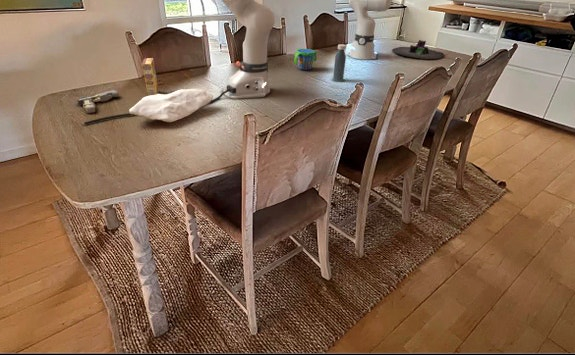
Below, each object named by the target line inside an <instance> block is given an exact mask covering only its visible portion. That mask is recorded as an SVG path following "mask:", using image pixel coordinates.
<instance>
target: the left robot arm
mask: <svg viewBox="0 0 575 355" xmlns="http://www.w3.org/2000/svg"><path fill="white" fill-rule="evenodd" d="M221 1H222V3H223V4H224V5H225V6H227V8H228V9H229V11H230V12H231V13H232V15H233V16H234V17H235V18H236V20H237V21H238V22H239V23H240V24H241V25H242V26H244V27H245V28H246V32H245V37H244V41H243V42H242V59H243V60H242V61H236V62H235V65H236V66H237V67H239V69H237V71H236V72H235V73H234V74H232V75H231V76H230V77H229V78H228V81H227V85H226V87H224V88H223V91H222V92H221V93H220V94H219V96H217V97H215V98H213V99H212V100H211V101H210V102H209V103H207V104H206V105H208V104H211V103H215V102H216V101H218V100H219V99H221V98H222V97H223V96H224V95H225V96H226V97H228V98H230V99H233V100H236V99H237V100H238V99H239V100H240V99H253V98H254V99H255V98H264V97H266V95H268V94H269V93H270V92H271V88H270V84H269V78H268V76H269V75H268V72H269V61H268V43H269V37H270V33H271V30H272V29H273V28H274V25H275V19H276V18H275V15H274V13H273V11H272V10H271V9H270V8H269V7H267V6H266V5H264V4H262V3H260V2H258V1H256V0H221ZM128 116H129V117H130V116H135V115H134V114H130V112H127V113H121V114H120V113H119V114H115V115H108V116H104V117H100V118H95V119H92V120H88V121H84V125H89V124H94V123H97V122H100V121H101V122H102V121H104V120H110V119H116V118H123V117H128Z"/></svg>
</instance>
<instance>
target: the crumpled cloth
mask: <svg viewBox="0 0 575 355" xmlns="http://www.w3.org/2000/svg"><path fill="white" fill-rule="evenodd" d="M213 97H214V96H213V94H212V93H210V92H208V91H206V90H203V89H201V88H187V89H186V88H185V89H184V88H183V89H177V90H175V91H173V92H171V93H167V94H163V93H158V94H156V95H150V96H148V95H146V96H144V97H142V98H141V99H140V100H139V101H138V102H137V103H136V104H134V105H133V106H132V107H131V108H129V112H128V113H130V114H134V115H133V116H140V117H145V118H146V119H149V120H152V121H155V120H158V121H163V122H166V123H174V122H176V121H178V120H181V119H183V118H185V117H188V116H190V115H192V114H193V113H195V112H196V111H197V110H199V109H200V108H202V107H204V106H206V105H208V104H210V103H209V102H210V101H211V100H213V99H214V98H213ZM207 103H208V104H207Z"/></svg>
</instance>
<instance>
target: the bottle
mask: <svg viewBox="0 0 575 355" xmlns="http://www.w3.org/2000/svg"><path fill="white" fill-rule="evenodd" d="M346 59H347V56H346V52H345V50H340V49H338V50H337V52H336V54H335V56H334V66H333V76H332V80H333V81H334V82H337V83H339V82H344V77H345V70H346Z"/></svg>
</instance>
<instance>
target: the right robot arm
mask: <svg viewBox="0 0 575 355" xmlns="http://www.w3.org/2000/svg"><path fill="white" fill-rule="evenodd" d="M348 5H349V7H350V9H351V10H353V12H354V14H355V16H356V31H355V35H354V40H353V42H352V41H351V45H347V47H348V48H350V52H348V53H347V56H348V57H351V58H352V59H356V60H363V61H365V60H376V59H377V54H378V52H377V51H376V50H375V46H376V45H375V43H374V40H375V30H376V29H375V28H376V21H375V19H374V18H373V17H371V16H370V15H369V13H368V12H377V13H379V12H386V11H388V10H389V9H390V7H391V6H392V0H348Z"/></svg>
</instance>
